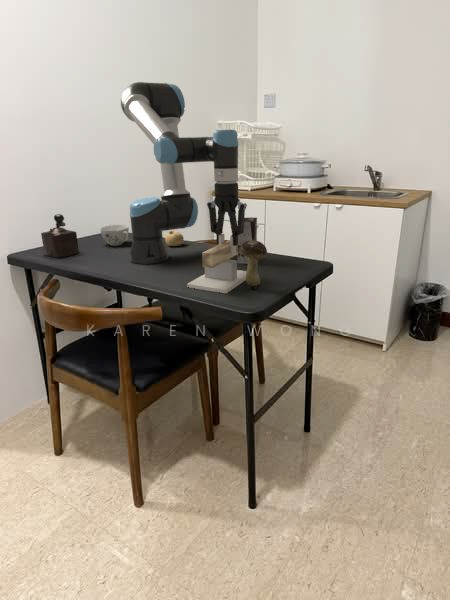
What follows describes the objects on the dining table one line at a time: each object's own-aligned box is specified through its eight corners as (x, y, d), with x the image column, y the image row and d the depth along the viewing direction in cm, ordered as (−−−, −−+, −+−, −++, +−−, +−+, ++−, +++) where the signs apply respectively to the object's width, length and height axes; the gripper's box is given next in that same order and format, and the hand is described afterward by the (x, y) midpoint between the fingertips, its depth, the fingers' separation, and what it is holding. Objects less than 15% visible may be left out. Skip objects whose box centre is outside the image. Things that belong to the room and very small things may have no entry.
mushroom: (243, 282, 138) (243, 237, 132) (269, 284, 135) (270, 238, 130) (236, 292, 129) (235, 244, 124) (263, 294, 127) (264, 246, 121)
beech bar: (202, 266, 130) (202, 252, 128) (228, 253, 145) (228, 240, 143) (212, 268, 129) (212, 253, 127) (237, 254, 144) (237, 241, 142)
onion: (171, 243, 192) (170, 227, 189) (186, 244, 189) (186, 228, 187) (162, 247, 185) (161, 231, 182) (179, 248, 182) (178, 232, 180)
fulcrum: (187, 287, 134) (186, 265, 131) (216, 270, 151) (216, 251, 148) (226, 293, 128) (225, 271, 125) (252, 275, 145) (252, 255, 142)
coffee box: (254, 264, 157) (254, 221, 151) (237, 263, 158) (236, 221, 152) (257, 258, 165) (257, 217, 159) (241, 257, 166) (241, 216, 161)
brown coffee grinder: (42, 255, 175) (34, 212, 169) (65, 249, 184) (59, 208, 177) (63, 260, 167) (56, 215, 160) (87, 254, 175) (81, 211, 168)
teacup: (96, 245, 190) (94, 227, 187) (118, 240, 199) (116, 223, 196) (117, 249, 181) (115, 231, 179) (139, 244, 191) (137, 226, 188)
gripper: (197, 182, 132) (200, 254, 141) (245, 184, 125) (245, 259, 134) (209, 180, 139) (211, 249, 147) (255, 181, 132) (254, 254, 140)
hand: (227, 254), depth 140 cm, fingers closed on beech bar, 3 cm apart
